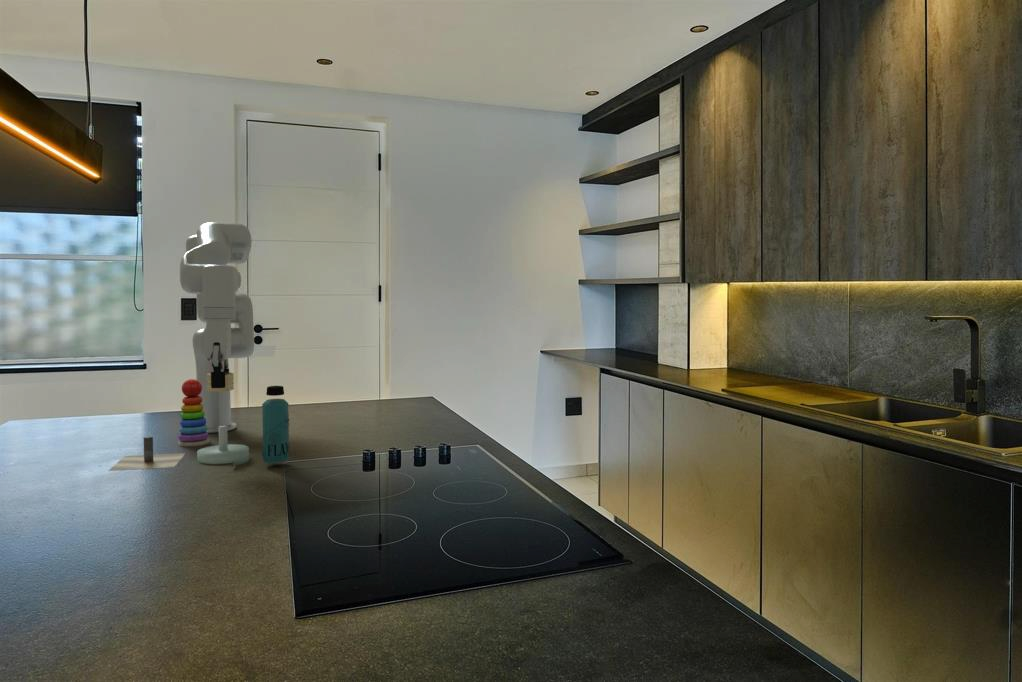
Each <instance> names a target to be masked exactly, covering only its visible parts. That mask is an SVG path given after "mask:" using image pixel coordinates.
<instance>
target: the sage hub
mask: <svg viewBox="0 0 1022 682" xmlns="http://www.w3.org/2000/svg"><path fill="white" fill-rule="evenodd" d="M228 441H229V440H228V431H227V426H219V432H218V444H217V445H211V446H205V447H203V448H200V449H198V450H197V451H196V456H197V458H196V459H197V460H196V461H197V462H198V463H200V464H208V465H221V464H223V465H224V464H231V463H232V465H231V466H232V467H236V466H240V465H243V464H247V463H248V462H249V461H250V452H249V451H250V448H249V446H247V445H245V444H237V443H236V444H235V443H233V444H232V443H230V444H229V443H228Z"/></svg>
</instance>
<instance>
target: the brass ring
mask: <svg viewBox="0 0 1022 682" xmlns="http://www.w3.org/2000/svg"><path fill="white" fill-rule="evenodd" d="M234 378H235V377H234V373H233V372H230V373H228V372H225V388H211V373H209V374H207V391H215V392H216V391H230V392H231V391H233V390H234V389H235V387H234V386H235V385H234V384H235V382H234V380H235V379H234Z"/></svg>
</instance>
